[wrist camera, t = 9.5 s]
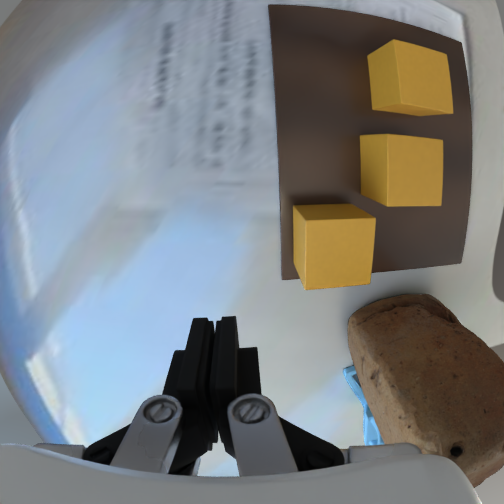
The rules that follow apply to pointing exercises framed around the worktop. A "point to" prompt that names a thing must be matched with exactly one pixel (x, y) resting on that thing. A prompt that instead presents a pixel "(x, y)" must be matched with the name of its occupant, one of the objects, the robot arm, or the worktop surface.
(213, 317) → the worktop surface
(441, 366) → the brown rounded lump
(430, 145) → the ochre block
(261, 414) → the robot arm
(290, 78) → the mat
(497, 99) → the worktop surface
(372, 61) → the ochre block
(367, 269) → the ochre block
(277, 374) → the worktop surface
